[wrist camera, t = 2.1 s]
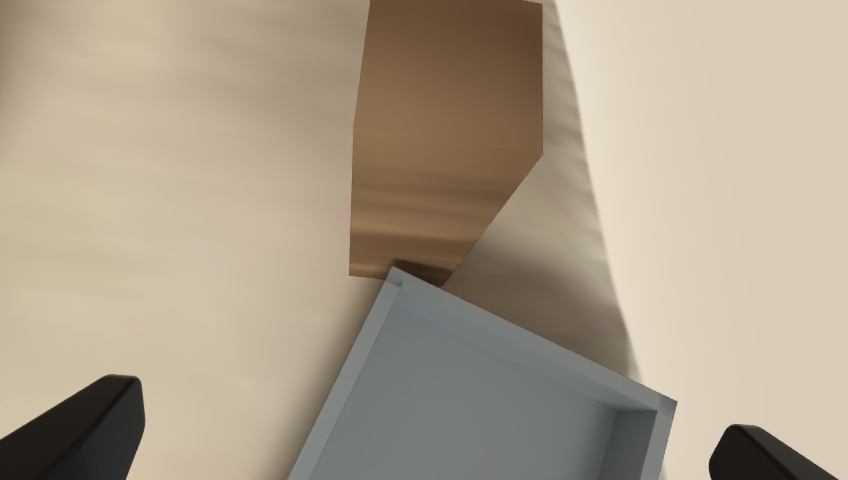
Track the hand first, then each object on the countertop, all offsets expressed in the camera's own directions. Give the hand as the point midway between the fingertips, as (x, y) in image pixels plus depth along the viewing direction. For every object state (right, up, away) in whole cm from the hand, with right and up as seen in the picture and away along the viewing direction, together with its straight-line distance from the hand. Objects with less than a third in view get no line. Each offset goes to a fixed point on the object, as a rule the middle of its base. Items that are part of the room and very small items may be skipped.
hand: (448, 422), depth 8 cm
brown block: (-1, +3, +15) cm, 15 cm away
